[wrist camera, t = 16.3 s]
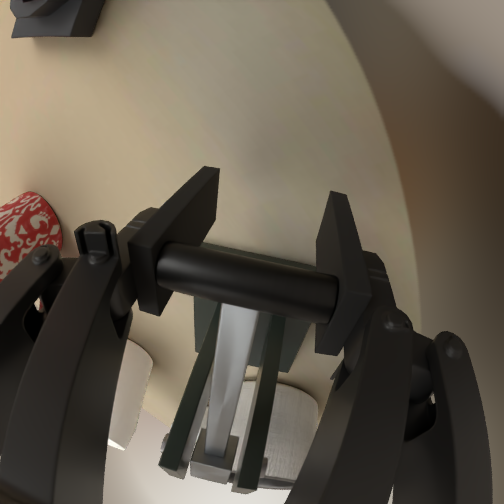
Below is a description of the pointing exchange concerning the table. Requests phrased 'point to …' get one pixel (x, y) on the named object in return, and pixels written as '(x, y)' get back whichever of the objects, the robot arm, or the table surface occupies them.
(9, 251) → the mug
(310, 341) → the table surface
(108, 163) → the table surface
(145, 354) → the cup
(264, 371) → the lever bracket
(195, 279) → the switch lever
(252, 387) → the planter
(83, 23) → the switch block
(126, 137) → the table surface
